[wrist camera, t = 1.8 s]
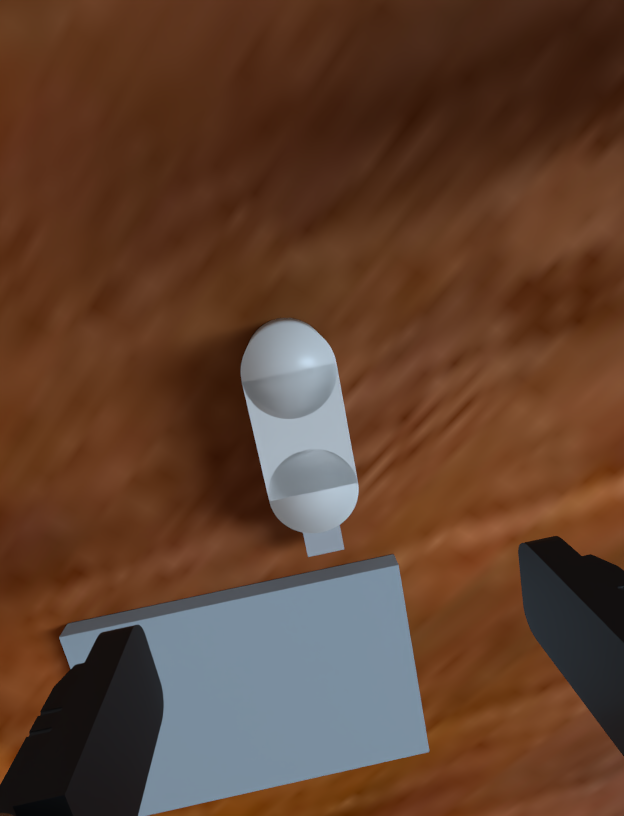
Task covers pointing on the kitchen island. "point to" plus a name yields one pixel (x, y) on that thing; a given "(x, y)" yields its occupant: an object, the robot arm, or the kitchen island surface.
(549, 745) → the kitchen island surface
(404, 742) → the cutting board
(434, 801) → the kitchen island surface
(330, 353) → the rounded plug
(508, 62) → the kitchen island surface
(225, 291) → the kitchen island surface
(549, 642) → the robot arm
